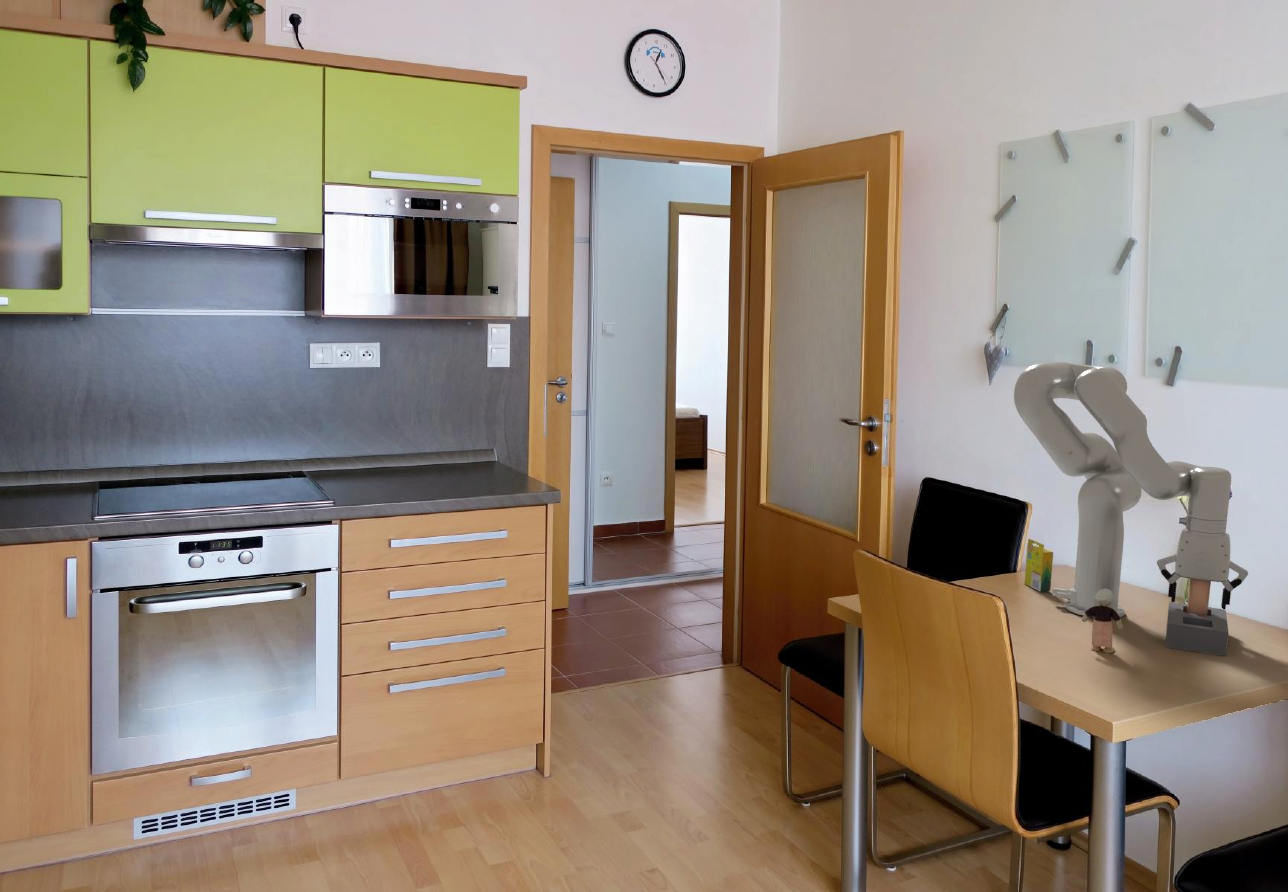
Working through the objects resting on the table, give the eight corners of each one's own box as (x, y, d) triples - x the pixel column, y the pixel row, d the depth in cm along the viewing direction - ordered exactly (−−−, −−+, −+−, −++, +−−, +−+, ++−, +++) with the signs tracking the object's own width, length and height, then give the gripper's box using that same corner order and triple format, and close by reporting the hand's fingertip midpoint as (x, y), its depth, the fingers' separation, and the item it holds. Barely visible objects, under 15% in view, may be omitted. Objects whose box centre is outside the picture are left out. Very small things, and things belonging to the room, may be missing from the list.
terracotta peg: (1185, 627, 232) (1190, 577, 231) (1185, 622, 236) (1190, 573, 234) (1206, 630, 231) (1211, 580, 229) (1205, 625, 234) (1211, 575, 232)
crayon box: (1050, 591, 263) (1054, 544, 262) (1039, 592, 263) (1043, 545, 261) (1034, 583, 270) (1038, 537, 269) (1023, 583, 270) (1027, 538, 268)
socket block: (1165, 646, 224) (1167, 623, 223) (1166, 623, 240) (1169, 601, 239) (1225, 656, 219) (1228, 632, 218) (1223, 631, 235) (1225, 609, 234)
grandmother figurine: (1119, 649, 222) (1124, 588, 220) (1120, 654, 218) (1126, 593, 216) (1078, 644, 224) (1083, 584, 222) (1079, 649, 220) (1084, 589, 219)
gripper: (1160, 524, 230) (1152, 602, 233) (1253, 534, 223) (1244, 614, 225) (1161, 517, 237) (1153, 593, 240) (1251, 527, 230) (1243, 605, 232)
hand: (1197, 604), depth 232 cm, fingers open, 9 cm apart
